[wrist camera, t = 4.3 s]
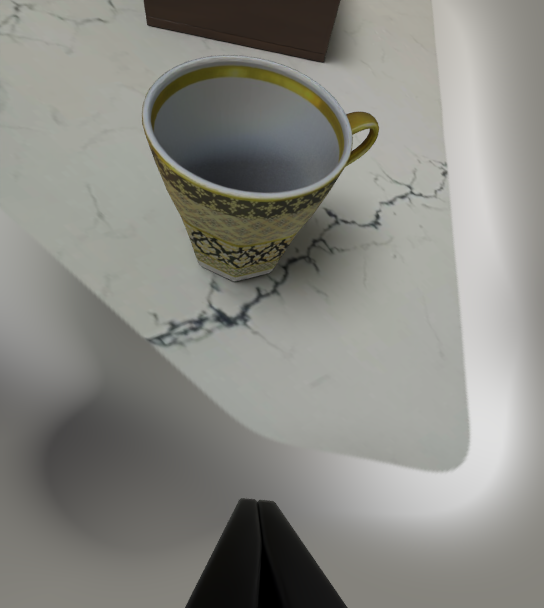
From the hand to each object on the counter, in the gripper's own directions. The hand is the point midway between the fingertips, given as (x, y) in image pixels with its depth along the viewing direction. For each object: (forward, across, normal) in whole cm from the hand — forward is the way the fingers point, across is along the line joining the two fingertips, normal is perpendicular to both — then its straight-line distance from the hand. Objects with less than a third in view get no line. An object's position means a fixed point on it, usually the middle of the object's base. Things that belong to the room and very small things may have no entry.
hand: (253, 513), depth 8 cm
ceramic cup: (+20, 0, +4) cm, 20 cm away
